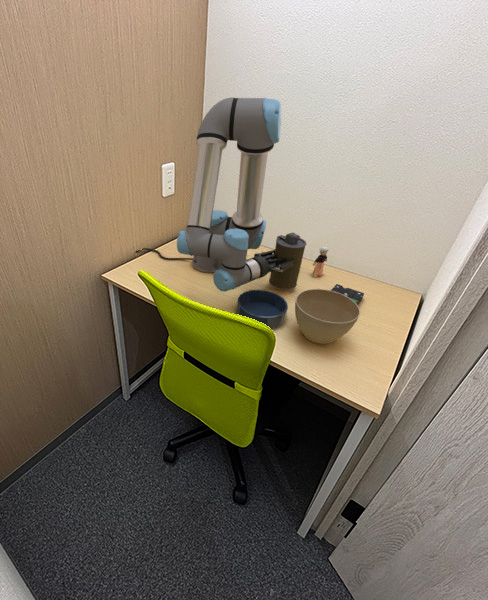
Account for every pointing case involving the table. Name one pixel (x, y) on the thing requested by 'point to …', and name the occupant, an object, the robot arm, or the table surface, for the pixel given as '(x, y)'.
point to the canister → (289, 249)
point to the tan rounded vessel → (325, 314)
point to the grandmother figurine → (320, 262)
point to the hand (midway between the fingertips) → (297, 252)
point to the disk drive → (349, 293)
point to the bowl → (263, 307)
